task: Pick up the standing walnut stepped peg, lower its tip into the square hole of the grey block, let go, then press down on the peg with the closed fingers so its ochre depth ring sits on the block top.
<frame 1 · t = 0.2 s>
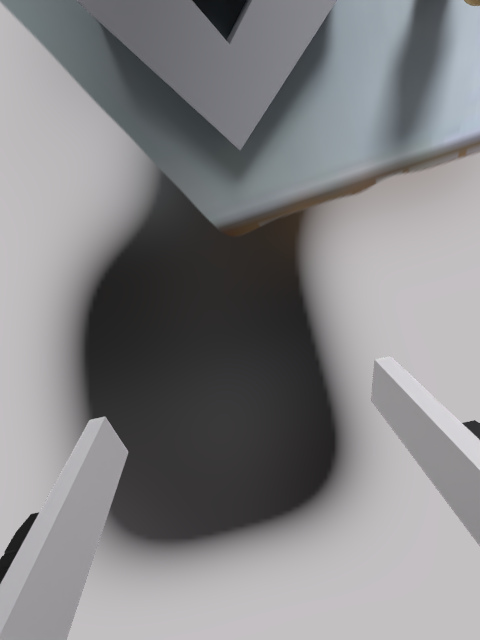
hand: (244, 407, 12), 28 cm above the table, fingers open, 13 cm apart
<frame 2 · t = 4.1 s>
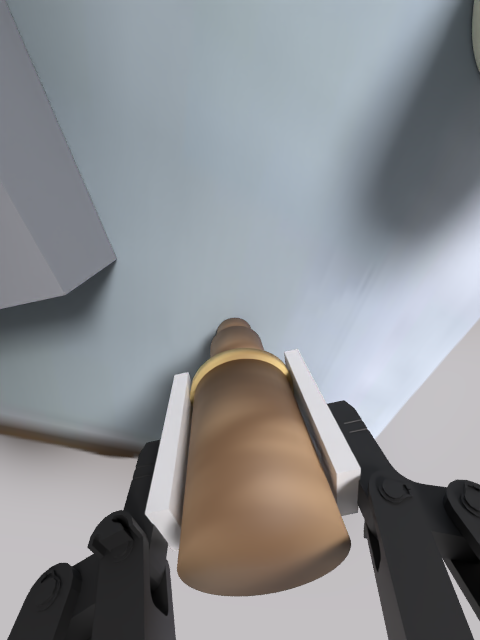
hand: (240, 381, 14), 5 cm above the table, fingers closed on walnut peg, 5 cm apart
walnut peg: (234, 333, 19), on the table, touching gripper
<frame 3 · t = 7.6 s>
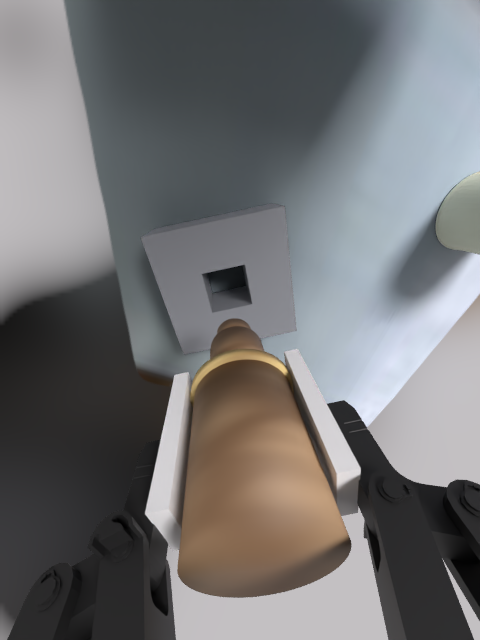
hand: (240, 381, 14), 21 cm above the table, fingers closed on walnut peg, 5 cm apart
can: (469, 212, 31), on the table
socket block: (225, 273, 32), on the table
walnut peg: (234, 333, 19), point 15 cm above the table, touching gripper
when the fingers open (8 cm above the table, at t = 11.4 s): walnut peg drops 2 cm, resting on socket block.
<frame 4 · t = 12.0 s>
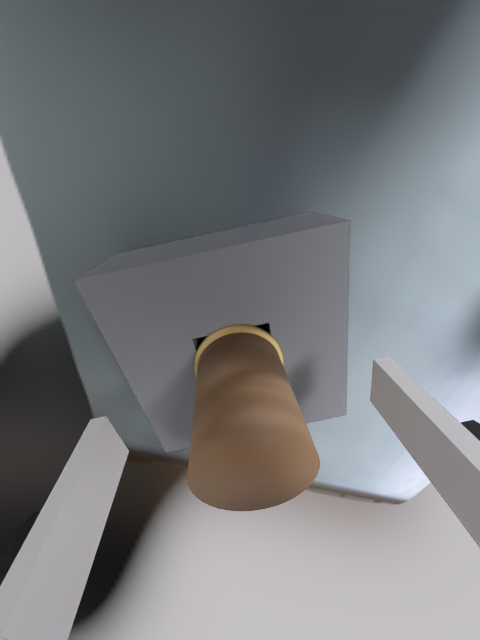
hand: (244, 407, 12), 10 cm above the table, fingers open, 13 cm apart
socket block: (232, 318, 21), on the table
walnut peg: (232, 318, 21), resting on socket block
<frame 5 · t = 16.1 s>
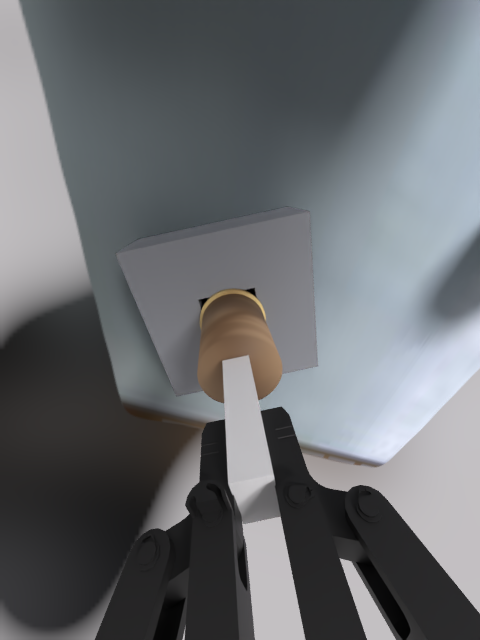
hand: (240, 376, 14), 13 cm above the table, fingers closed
socket block: (228, 292, 26), on the table
walnut peg: (228, 292, 26), resting on socket block, touching gripper
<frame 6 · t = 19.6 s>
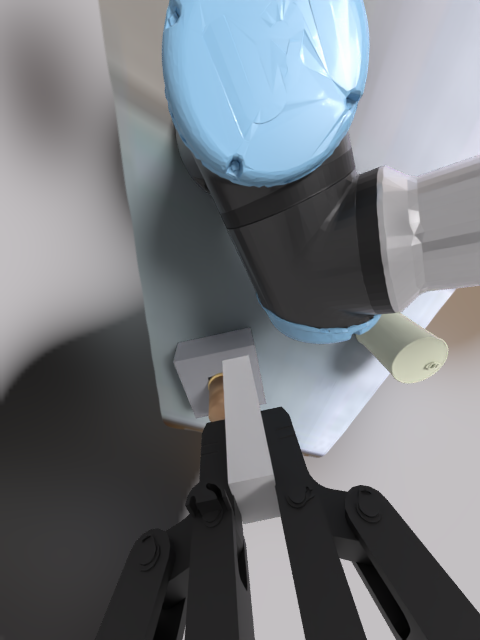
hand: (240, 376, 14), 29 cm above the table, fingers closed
can: (377, 326, 50), on the table
socket block: (222, 363, 50), on the table
walnut peg: (222, 363, 50), resting on socket block
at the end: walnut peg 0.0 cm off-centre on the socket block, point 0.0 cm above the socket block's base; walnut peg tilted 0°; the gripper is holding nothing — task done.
